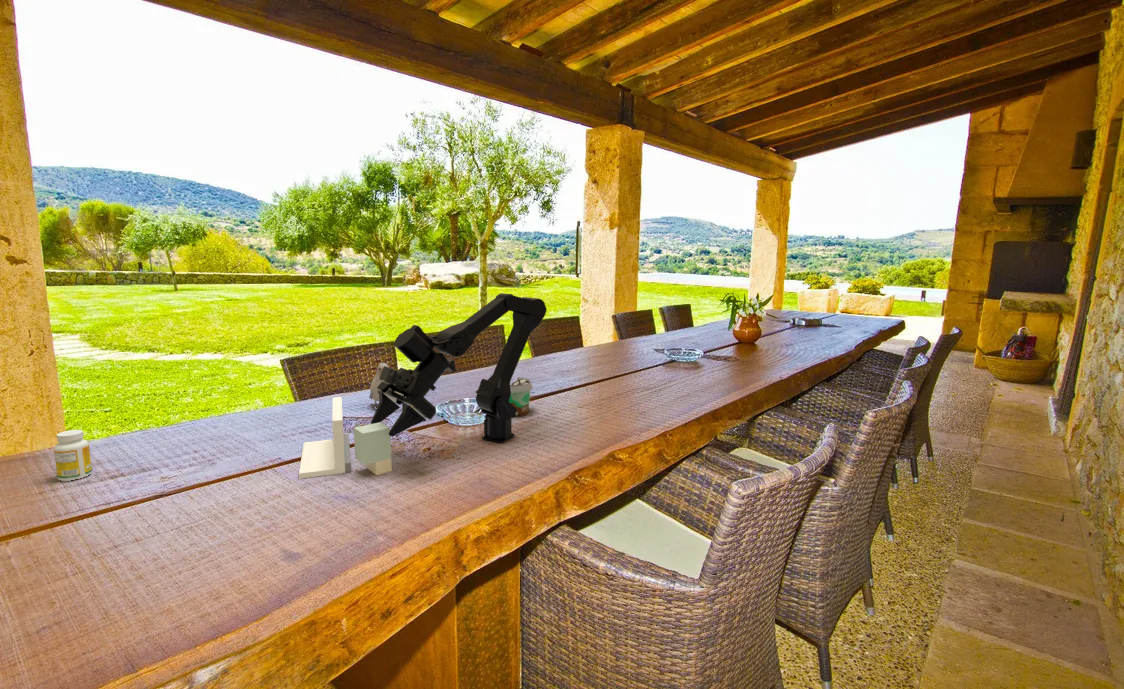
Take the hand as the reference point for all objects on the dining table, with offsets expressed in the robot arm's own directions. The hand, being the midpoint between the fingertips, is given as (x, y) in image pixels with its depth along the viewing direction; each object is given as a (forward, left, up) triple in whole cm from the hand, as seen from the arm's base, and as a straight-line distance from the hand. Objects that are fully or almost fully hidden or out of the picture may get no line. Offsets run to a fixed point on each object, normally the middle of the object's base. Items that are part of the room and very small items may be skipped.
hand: (380, 430), depth 115 cm
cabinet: (+1, +1, -9) cm, 9 cm away
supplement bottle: (+54, +32, -9) cm, 63 cm away
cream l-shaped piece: (+15, +2, -9) cm, 18 cm away
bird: (+34, -35, -9) cm, 49 cm away
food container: (-7, -51, -9) cm, 53 cm away
